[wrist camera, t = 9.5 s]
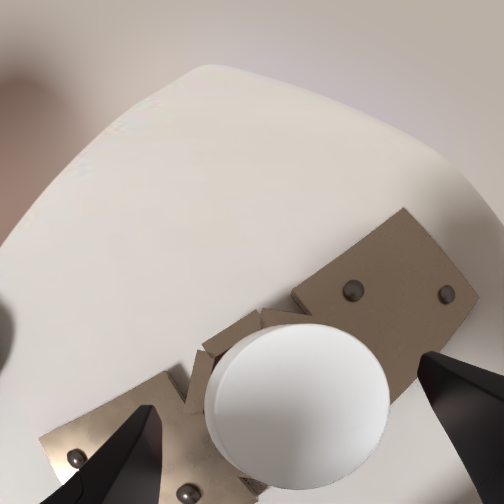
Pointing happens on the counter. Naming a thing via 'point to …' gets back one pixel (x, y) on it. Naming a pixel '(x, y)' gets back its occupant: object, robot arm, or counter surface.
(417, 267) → the brown mounting plate
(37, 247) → the counter surface
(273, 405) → the pill bottle
